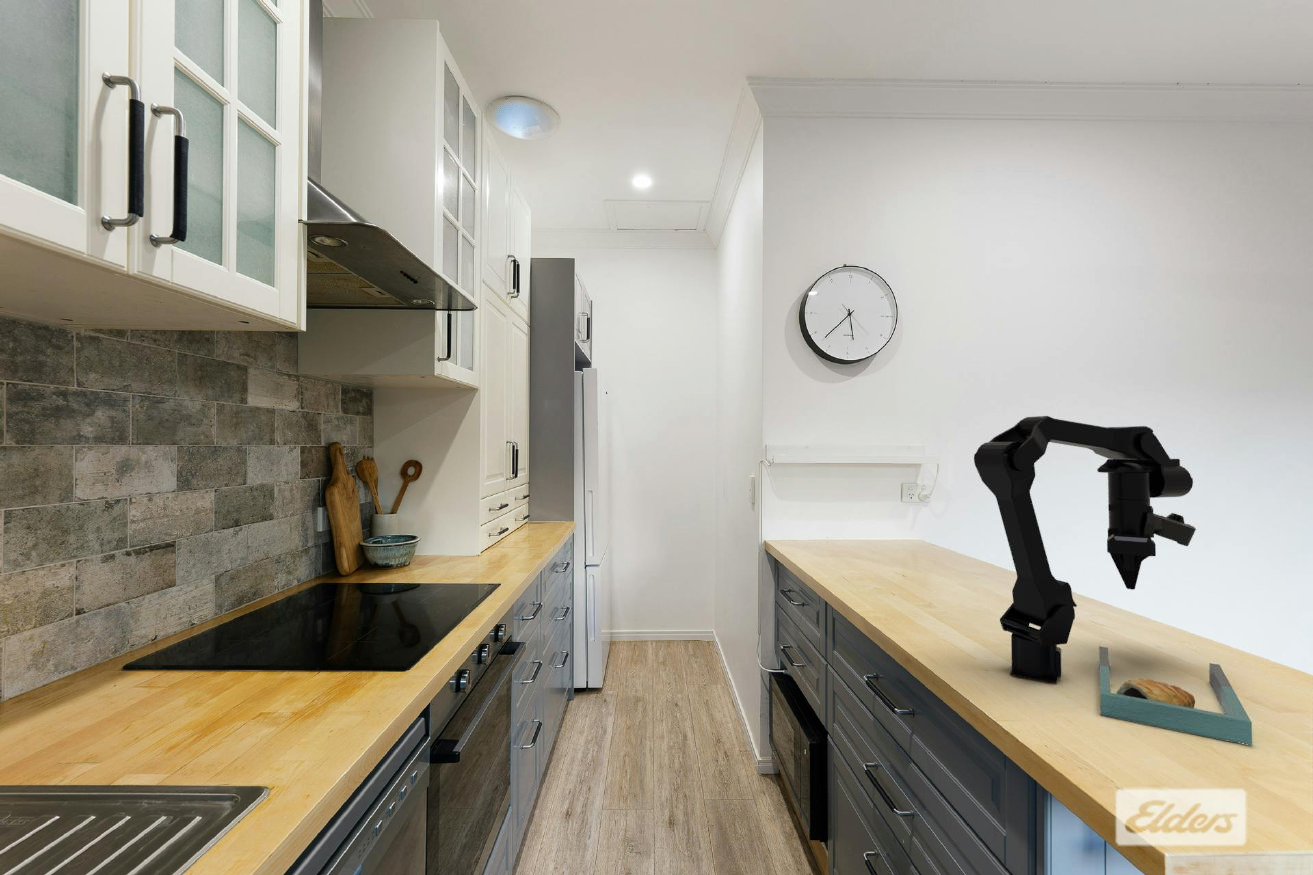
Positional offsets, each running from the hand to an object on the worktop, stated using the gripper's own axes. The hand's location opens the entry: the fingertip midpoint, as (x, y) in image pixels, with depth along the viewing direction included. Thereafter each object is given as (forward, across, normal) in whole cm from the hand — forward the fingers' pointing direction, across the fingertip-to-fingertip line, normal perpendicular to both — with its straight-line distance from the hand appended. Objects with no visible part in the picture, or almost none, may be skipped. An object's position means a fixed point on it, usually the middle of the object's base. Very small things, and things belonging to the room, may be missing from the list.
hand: (1130, 588), depth 104 cm
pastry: (+14, -18, -2) cm, 23 cm away
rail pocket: (+13, -15, -3) cm, 20 cm away
